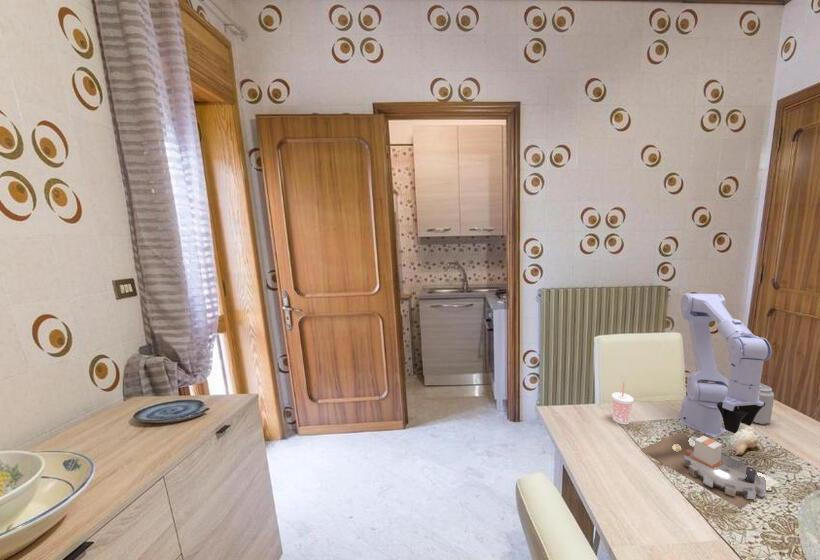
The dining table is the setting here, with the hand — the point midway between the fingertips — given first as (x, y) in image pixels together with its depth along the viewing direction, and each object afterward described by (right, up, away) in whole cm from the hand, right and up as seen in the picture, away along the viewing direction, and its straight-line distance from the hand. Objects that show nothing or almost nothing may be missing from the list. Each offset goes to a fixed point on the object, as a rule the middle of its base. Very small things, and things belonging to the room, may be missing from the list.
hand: (737, 427), depth 87 cm
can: (+25, -6, +19) cm, 32 cm away
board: (-10, -10, -1) cm, 14 cm away
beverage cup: (-19, -8, +20) cm, 29 cm away
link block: (-10, -8, -2) cm, 13 cm away
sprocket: (-9, -11, -5) cm, 15 cm away
